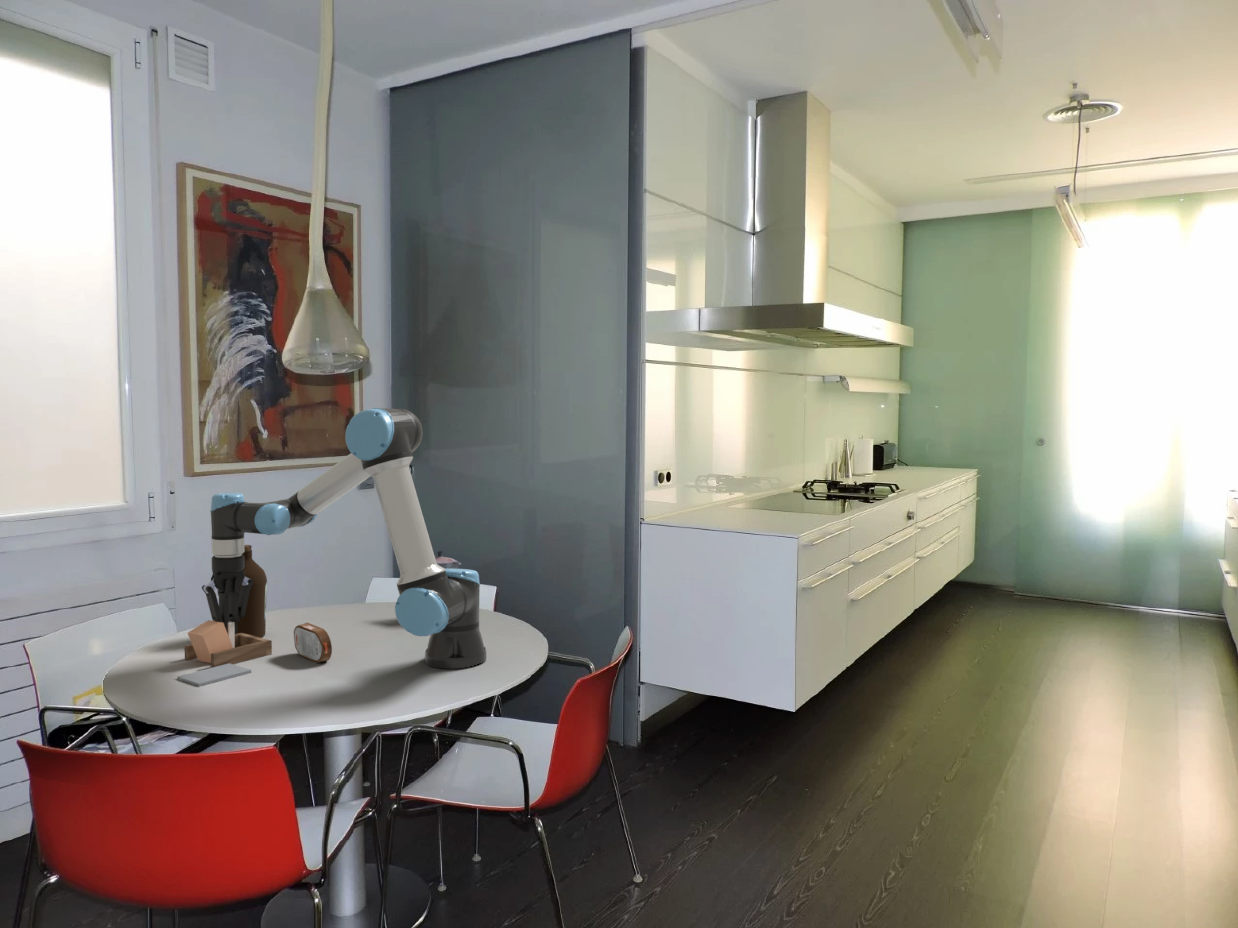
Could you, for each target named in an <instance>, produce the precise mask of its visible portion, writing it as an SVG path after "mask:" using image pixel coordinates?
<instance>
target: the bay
mask: <svg viewBox="0 0 1238 928" xmlns="http://www.w3.org/2000/svg"><path fill="white" fill-rule="evenodd" d="M272 643H273V641H272V640H270V639H266V638H263V637H261V638H260V637H256V636H252V635H248V634H244V633H238V634H235V648H231V649H227V650H223V651H219V652H215V653H211V663H210V668H213V667H217V666H221V665H225V664H228V663H230V664H233V665H236V664H239V663H243V662H247V661H250V660H254V659H258V658H262V657H266V655H267V656H270V655H272V654H273V648H272V645H273V644H272ZM183 648H184V660H185V661H187V662H188V661H192V660H198V658H197V655H196V653H195V650H194V648H193V645H192V643H190V644H186V645H184V647H183Z"/></svg>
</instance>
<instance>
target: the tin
mask: <svg viewBox="0 0 1238 928" xmlns="http://www.w3.org/2000/svg"><path fill="white" fill-rule="evenodd" d="M293 639H294V647H295V650H296V652H297V654H298V655H300V656H301V657H302V658H305V659H307V660H310V661H312V662H313V663H317V664H319V663H323V662H328V661H329V660H331V657H332V653H333V646H332V640H331V638H330V635H329V634H328V632H327V631H326V629H324V628H322V627H321V626H317V625H315V624H312V623H310V622H305V623H302V624H301V623H300V624H298V625H296V626H295V628H294V629H293Z"/></svg>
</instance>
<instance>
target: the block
mask: <svg viewBox="0 0 1238 928" xmlns="http://www.w3.org/2000/svg"><path fill="white" fill-rule="evenodd" d="M187 635H188V638H189V640H190V644H192V645H193V648H194V650H195V653H196V655H197V661H198V662H204V663H207V664H211V653H215V652H219V651H223V650H227V649H231V648H233V646H232V644H231V641H230V639H229V636H228V633H227V631H226V628H225V626H224V623H222V622H216V621H213V620H212V619H211V620H205V622H203V623H201V624H200V625H198V626H196V627H194V628H193V629H192V630H190V631H188V632H187Z"/></svg>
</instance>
